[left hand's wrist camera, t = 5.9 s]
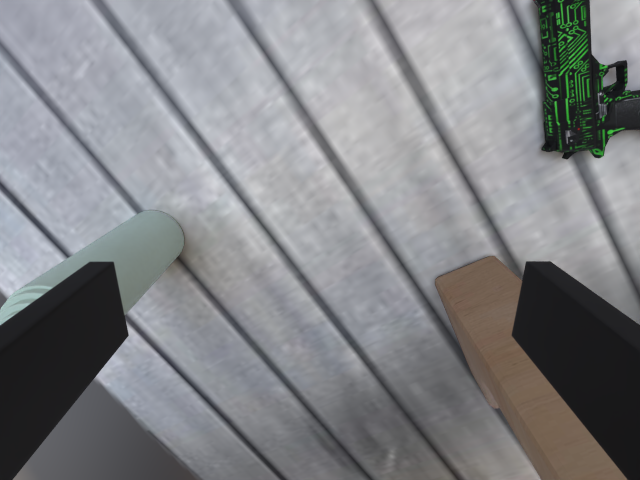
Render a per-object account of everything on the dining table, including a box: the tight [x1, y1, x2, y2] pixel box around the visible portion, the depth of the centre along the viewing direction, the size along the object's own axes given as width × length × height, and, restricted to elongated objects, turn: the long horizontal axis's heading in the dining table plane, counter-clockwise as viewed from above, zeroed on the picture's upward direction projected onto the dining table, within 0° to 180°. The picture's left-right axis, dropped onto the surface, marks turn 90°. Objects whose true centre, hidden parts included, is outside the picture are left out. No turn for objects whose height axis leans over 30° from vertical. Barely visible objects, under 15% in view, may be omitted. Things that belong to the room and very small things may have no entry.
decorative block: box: [435, 256, 627, 480], centre depth 33 cm, size 8×15×30 cm, turn 25°
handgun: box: [533, 0, 640, 159], centre depth 37 cm, size 16×3×15 cm
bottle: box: [0, 210, 184, 325], centre depth 33 cm, size 6×6×24 cm
